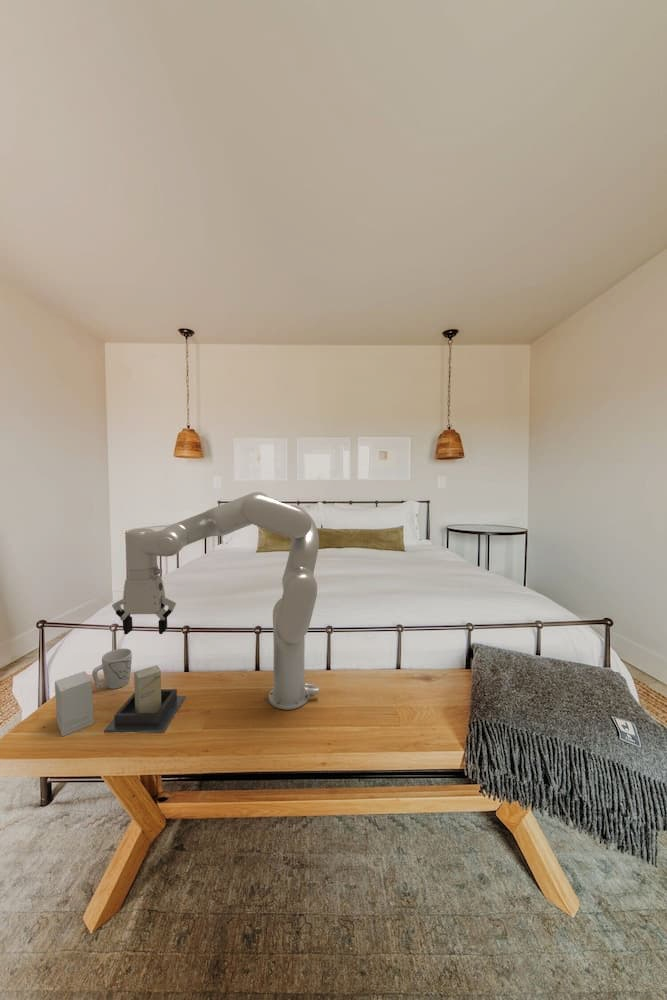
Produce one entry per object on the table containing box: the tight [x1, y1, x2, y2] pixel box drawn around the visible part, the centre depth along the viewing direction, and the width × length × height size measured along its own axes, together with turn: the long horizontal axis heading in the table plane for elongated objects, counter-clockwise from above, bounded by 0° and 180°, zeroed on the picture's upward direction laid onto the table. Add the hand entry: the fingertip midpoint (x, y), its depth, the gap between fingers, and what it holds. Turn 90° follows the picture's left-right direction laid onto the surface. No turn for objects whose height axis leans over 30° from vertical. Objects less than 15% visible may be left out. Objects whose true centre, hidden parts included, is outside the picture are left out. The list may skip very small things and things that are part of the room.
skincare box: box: [133, 665, 162, 713], centre depth 106 cm, size 6×4×12 cm
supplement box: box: [54, 671, 94, 737], centre depth 102 cm, size 7×7×13 cm
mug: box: [91, 648, 133, 690], centre depth 120 cm, size 11×8×10 cm
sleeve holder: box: [103, 688, 186, 734], centre depth 106 cm, size 16×15×4 cm
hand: (145, 632), depth 105 cm, fingers open, 9 cm apart
